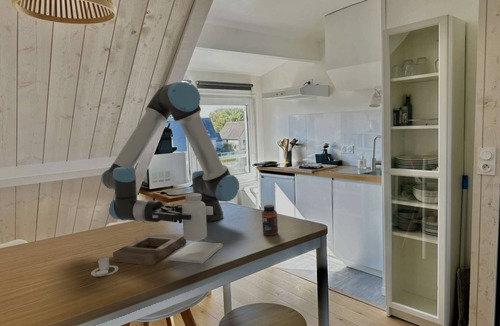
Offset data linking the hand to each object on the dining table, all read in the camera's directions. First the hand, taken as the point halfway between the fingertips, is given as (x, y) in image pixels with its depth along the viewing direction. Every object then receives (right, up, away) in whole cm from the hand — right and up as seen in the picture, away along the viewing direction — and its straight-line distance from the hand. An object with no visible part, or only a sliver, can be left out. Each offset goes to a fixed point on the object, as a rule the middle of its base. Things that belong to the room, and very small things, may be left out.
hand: (206, 213), depth 116 cm
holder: (-20, -14, +7) cm, 26 cm away
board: (-4, -14, +3) cm, 15 cm away
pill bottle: (-4, -9, +2) cm, 10 cm away
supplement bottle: (+23, -11, +20) cm, 32 cm away
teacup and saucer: (-33, -18, -10) cm, 39 cm away
